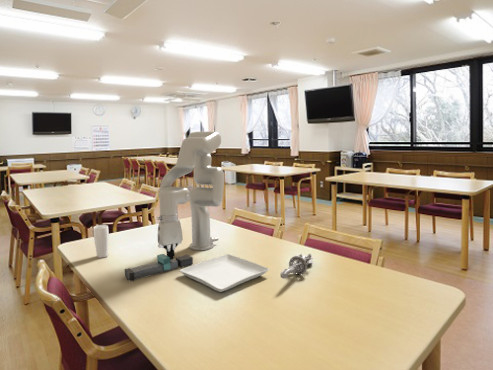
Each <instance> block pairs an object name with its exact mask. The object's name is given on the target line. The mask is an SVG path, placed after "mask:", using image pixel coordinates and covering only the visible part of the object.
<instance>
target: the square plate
mask: <svg viewBox="0 0 493 370" xmlns="http://www.w3.org/2000/svg"><path fill="white" fill-rule="evenodd" d="M268 271H270V268H269V267H266V266H263V265H261V264H258V263H256V262H253V261H250V260H248V259H245V258H241V257H239V256H235V255H233V254H230V253H225V254H222V255H219V256H216V257H212V258H210V259H207V260H204V261H201V262H198V263H194V264H193V265H189V266H185V267H183V268H181V269H179V272H180V273H181V274H182V275H184V276H186V277H187V278H189V279H192V280H194V281H197V282H198V283H201V284H203V285H205V286H207V287H209V288H210V289H212V290H215V292H220V293H221V292H225V291H227V290H228V291H229V290H231V289H232V288H234V287H237V286H239V285H241V284H243V283H245V282H248V281H251V280H253V279H256V278H258V277H260V276H263V275H264V274H266V273H267V272H268Z"/></svg>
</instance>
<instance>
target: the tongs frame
mask: <svg viewBox="0 0 493 370" xmlns="http://www.w3.org/2000/svg"><path fill="white" fill-rule="evenodd" d="M174 259H175V260H172V261H170V267H171V269H168V270H164V268H163V264H162V263H160V264H156V265H152V266H148V267H144V268H140V269H135V270H130V271H127V278H126V280H128V281H129V282H132V281H133V282H134V281H135V280H138V279H143V278H146V277H151V276H154V275H159V274H162V273H166V272H170V271H172V270H173V271H174V270H178V269H179V268H181V269H183V268H186V267H189V266H192V264H193V265H194V262H193V261H194V260H193V257H192V256H191V255H189V254H185V255H181V256H177V257H175V256H174Z"/></svg>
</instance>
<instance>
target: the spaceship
mask: <svg viewBox="0 0 493 370" xmlns="http://www.w3.org/2000/svg"><path fill="white" fill-rule="evenodd" d="M313 259H314V258H313V257H312V254H311V253H308V254H307V255H302V253H301V254H299V255H295V256H292V257H291V258H290V259H289V262H288V268H284V269H282V270H281V272H280V278H281V279H286V278H288V277H289V275H290V274H292V275H296V273H297V274H302V275H303V274H305V272H307V269H308V265H309V264H313V261H314V260H313Z"/></svg>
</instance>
